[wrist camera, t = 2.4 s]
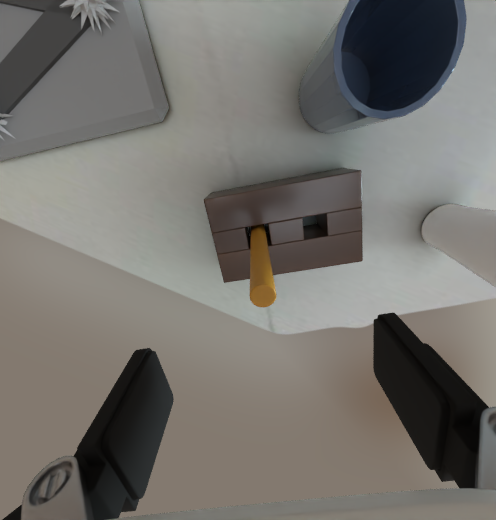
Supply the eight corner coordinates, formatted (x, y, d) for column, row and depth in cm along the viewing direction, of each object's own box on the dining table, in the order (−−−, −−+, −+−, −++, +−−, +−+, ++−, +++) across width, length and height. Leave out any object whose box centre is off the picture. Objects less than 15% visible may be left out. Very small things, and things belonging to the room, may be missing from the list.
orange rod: (249, 219, 31) (247, 286, 15) (262, 216, 30) (274, 282, 15) (252, 231, 31) (252, 309, 15) (264, 229, 31) (278, 305, 15)
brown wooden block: (211, 192, 29) (203, 199, 25) (343, 167, 28) (362, 170, 24) (228, 265, 33) (224, 283, 28) (346, 245, 32) (362, 261, 27)
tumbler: (294, 58, 24) (330, -23, 13) (371, 40, 24) (476, -60, 13) (302, 140, 27) (336, 129, 16) (371, 126, 27) (457, 105, 15)
